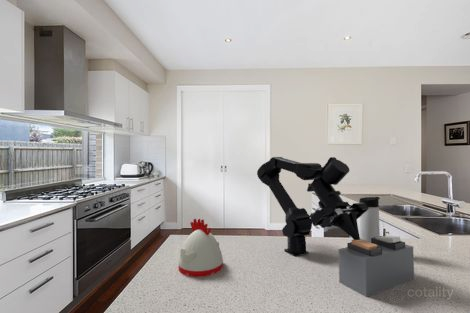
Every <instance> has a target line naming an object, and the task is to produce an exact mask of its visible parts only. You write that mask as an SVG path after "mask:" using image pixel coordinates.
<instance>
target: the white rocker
mask: <svg viewBox="0 0 470 313" xmlns="http://www.w3.org/2000/svg"><path fill="white" fill-rule="evenodd" d="M380 236H381V237H376V238H375V239H378V240H382V241H385V242H388V243H395V242H399V241H401V238H400V236H387V235H385V236H383V235H380Z"/></svg>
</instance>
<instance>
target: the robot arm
mask: <svg viewBox="0 0 470 313" xmlns="http://www.w3.org/2000/svg"><path fill="white" fill-rule="evenodd" d="M282 170H285V171H288V172H291V173H292V174H295V175H296V177H297V178H299V179H301V180H303V181H312V182H311V183H308V186H307V189H306V191H307V192H308V193H309V192H314V194H315V195H316V196H317V198H318V200H319V201H318V203H317V204H318V208H317V209H315V211H314V212H311V213H310V214H309V213H308V212H307V210H306V208H304V207H301V208H299V207H298V206H297V205H296V204H295V202H294V200H293V199H292V197H291V196H290V195H289V193H288V191H287V190H286V189H285V187H284V186H283V184H282V183H281V180H280V173H281V172H282ZM349 172H350V168H349V166H348V165H347V163H344V162H343V161H341V160H340V159H337V157H335V156H334V157H333V156H331V157H329V158H328V159H327V161H326V163H325V164H324V165H323V166H322V165H321V164H320V163H316V162H299V161H296V160H293V159H292V160H291V159H288V158H284V157H283V156H273V157H271V158H270V159H269V160H267V161H266V162H264V163H263V164H261V166H259V168H258V170H257V172H256V175H257V178H258V179H259V180H260V182H261V183H262V184H264V185H266V186H267V187H269V189H270V190H271V193H272V194H273V195H274V197H275V199H276V201H277V203H279V204H278V205H279V206H280V208H281V209H282V211H283V213H284V214H285V216H284V217H285V219H284V220H285V225H284V226H283V228H282V229H281V231H282V236H285V237H287V248H284V252H285V253H288V254H290V255H291V256H294V257H299V256H303V255H306V254H307V255H308V254H310V251H309V250H307V241H306V236H310V233H311V229H312V228H313V226H314V227H317V226H319V227H321V228H322V229H324V228H331V227H333V226H334V227H338V228H339V229H341V230H342V231H343V232H344V233H346V234H347V235H348V236H349V237H350V238H352V240H354V239H355V240H359V239H360V230H359V224H358V219H360V216H362V215H363V214H364V213H365V212H366V211H367V210H368V209H369V208H368V207H367V205H366V204H365V203H360V202H355V203H352V204H351V205H350V204H349V202H348V201H343V199H342V198H341V196H340V195H342V192H341V191H340V190H336V189H335V188H334V186H336V185H339V183H340V182H341V181H342V180H343V179H344V178H345V177H346V176H347V175H348V174H349ZM333 185H334V186H333ZM349 205H350V206H349ZM348 206H349V207H348Z"/></svg>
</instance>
